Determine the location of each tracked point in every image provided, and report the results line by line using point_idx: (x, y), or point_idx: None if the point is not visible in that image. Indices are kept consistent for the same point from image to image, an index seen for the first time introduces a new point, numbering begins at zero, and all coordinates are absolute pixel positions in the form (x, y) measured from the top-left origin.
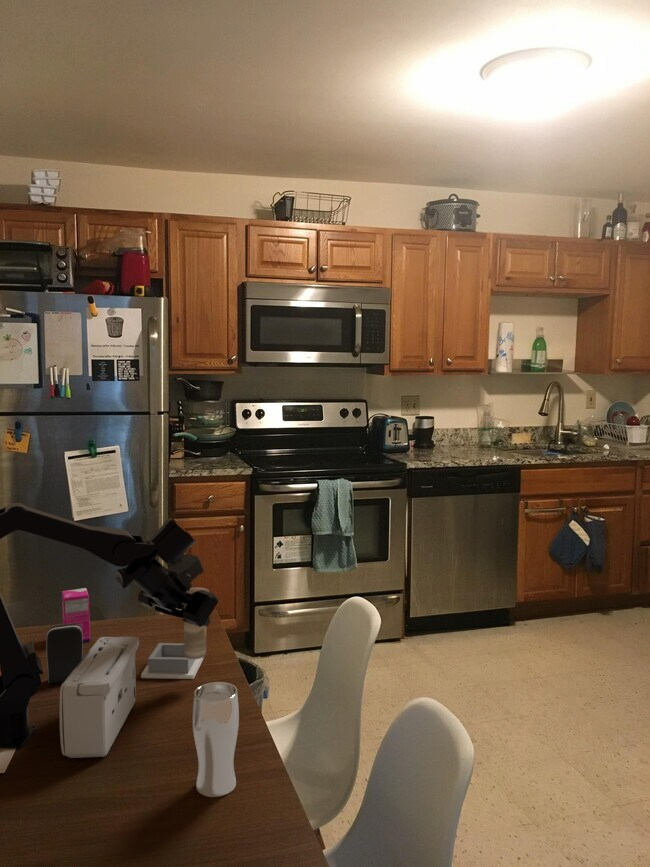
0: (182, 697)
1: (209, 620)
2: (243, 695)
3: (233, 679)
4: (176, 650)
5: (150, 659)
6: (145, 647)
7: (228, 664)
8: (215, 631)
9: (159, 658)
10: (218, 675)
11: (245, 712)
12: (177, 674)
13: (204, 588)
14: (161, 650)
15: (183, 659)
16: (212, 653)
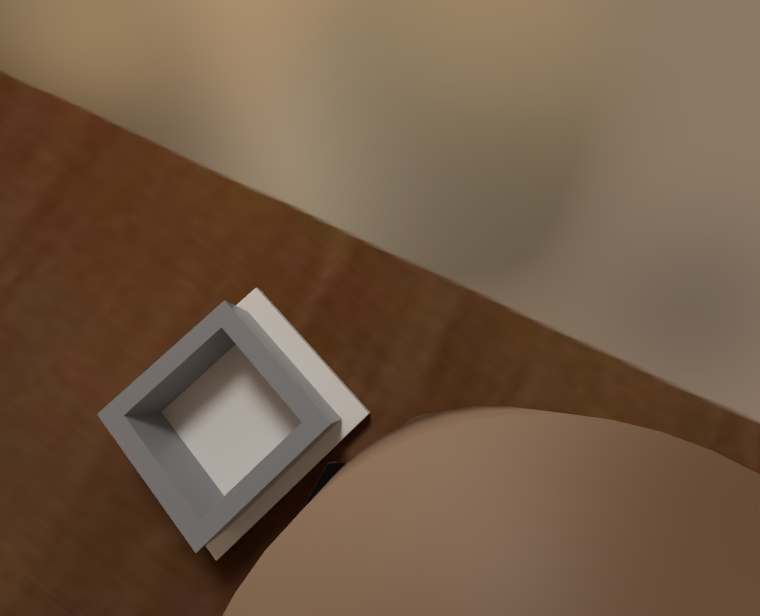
0: None
1: None
2: (599, 359)
3: (470, 310)
4: (185, 372)
5: (205, 543)
6: (24, 386)
7: (360, 253)
8: (113, 133)
9: (230, 511)
10: (407, 329)
11: (717, 433)
12: (320, 454)
13: (488, 443)
14: (144, 424)
15: (316, 437)
16: (247, 242)
